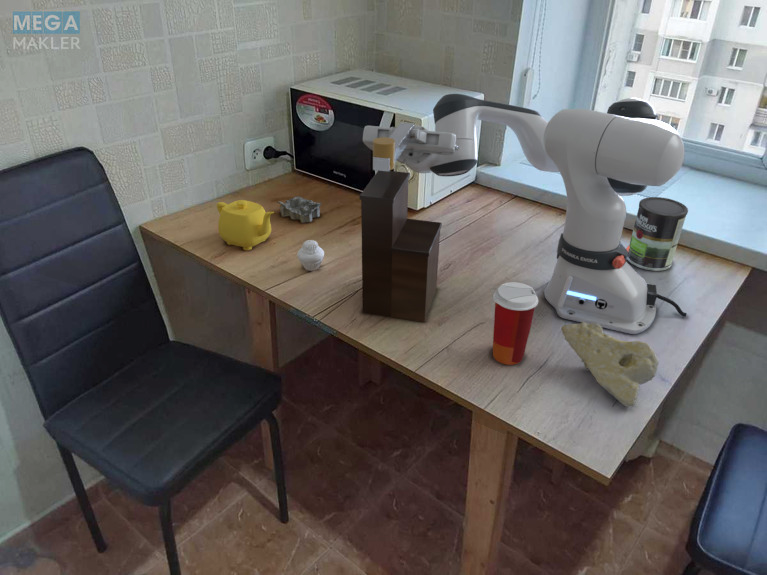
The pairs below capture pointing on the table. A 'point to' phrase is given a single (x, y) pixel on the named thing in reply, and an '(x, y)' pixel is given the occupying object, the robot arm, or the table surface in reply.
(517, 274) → the table surface
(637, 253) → the coffee can
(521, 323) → the paper cup
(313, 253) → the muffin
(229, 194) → the table surface
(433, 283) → the step stand
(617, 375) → the cheese
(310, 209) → the egg carton
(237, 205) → the teapot
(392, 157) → the crank handle
